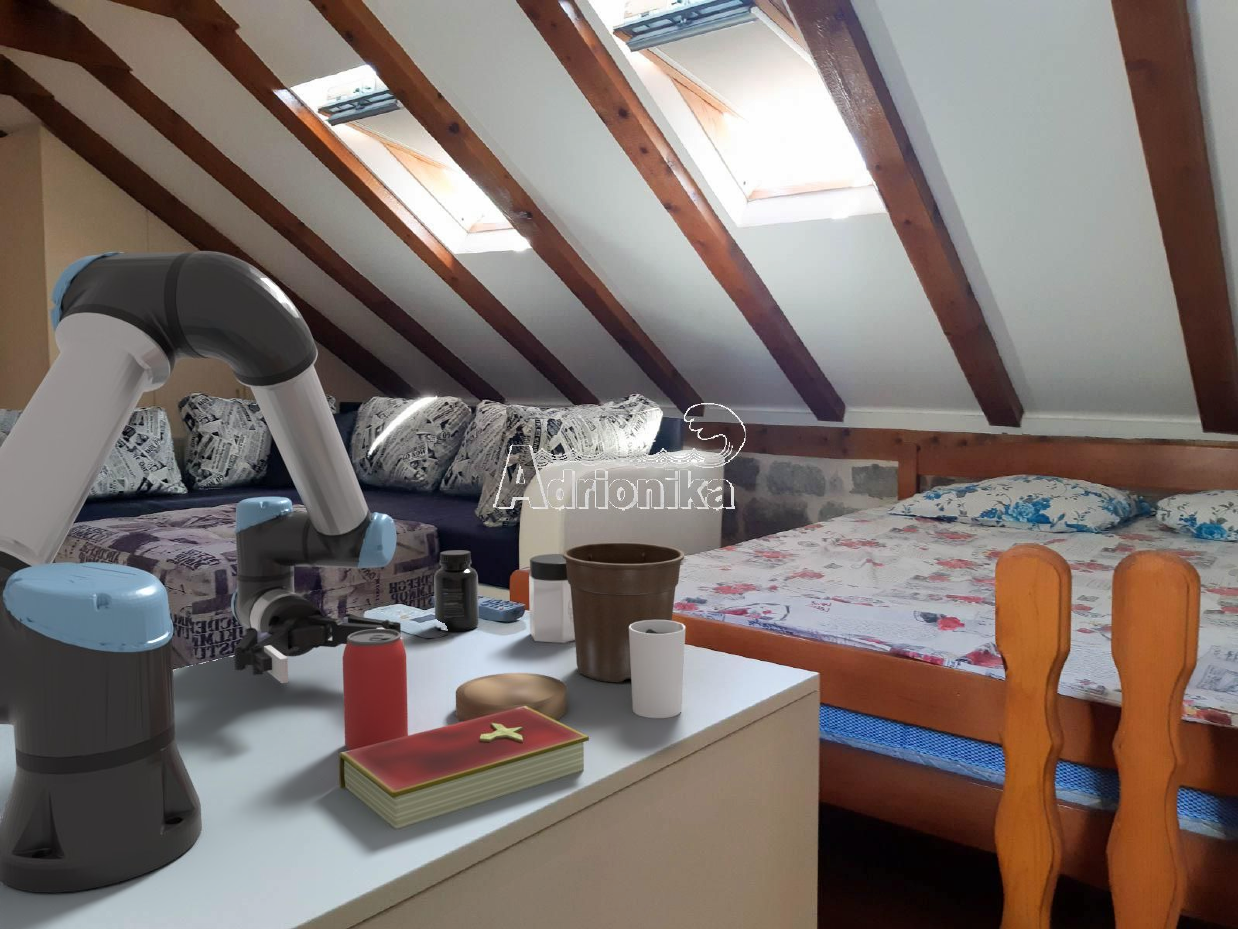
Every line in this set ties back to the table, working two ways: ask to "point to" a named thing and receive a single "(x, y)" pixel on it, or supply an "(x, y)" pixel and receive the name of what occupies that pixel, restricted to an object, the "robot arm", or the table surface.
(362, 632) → the beer can
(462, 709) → the shallow wooden bowl
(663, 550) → the plant pot
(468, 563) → the supplement bottle
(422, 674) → the table surface
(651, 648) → the white cup
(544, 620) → the jar
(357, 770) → the hardcover book
